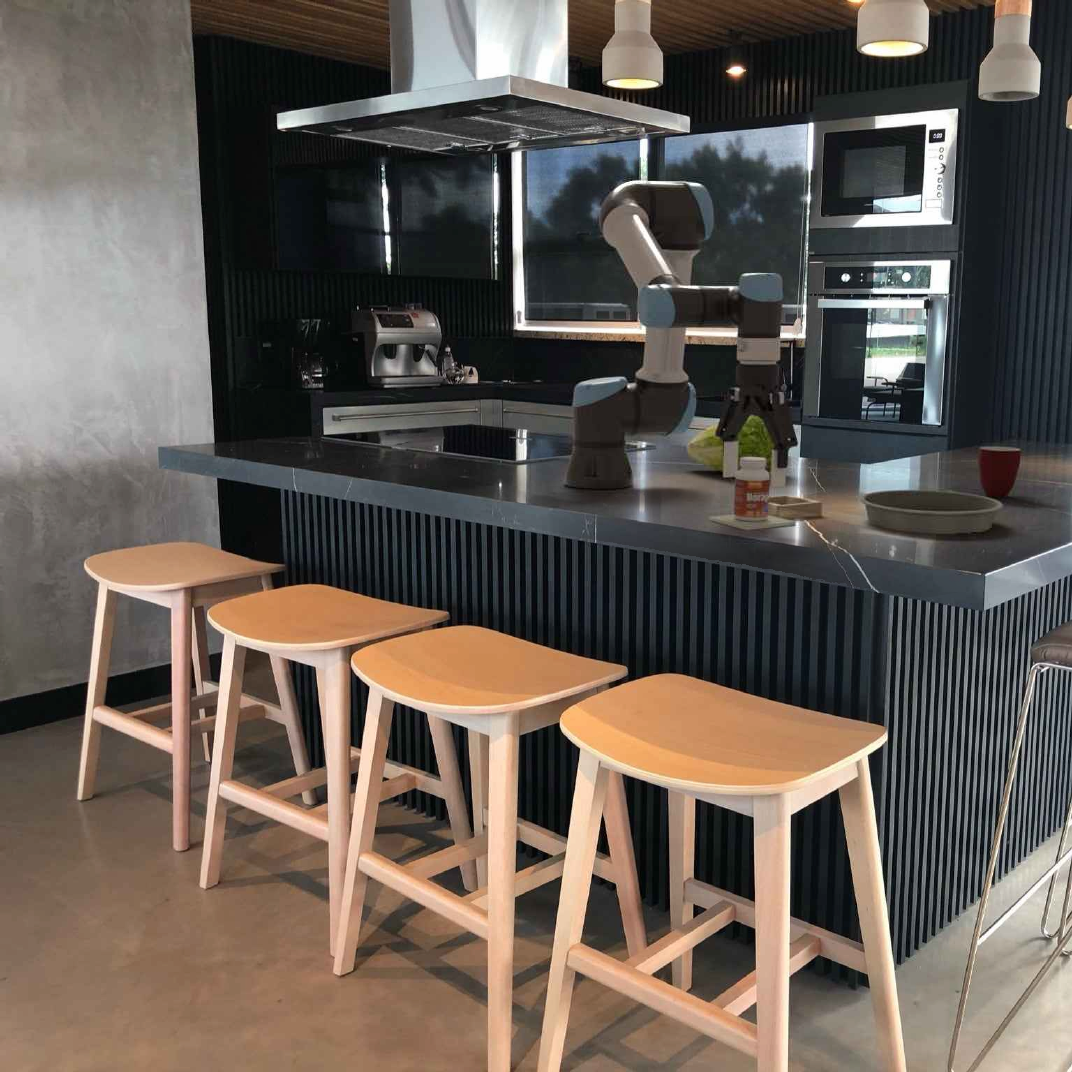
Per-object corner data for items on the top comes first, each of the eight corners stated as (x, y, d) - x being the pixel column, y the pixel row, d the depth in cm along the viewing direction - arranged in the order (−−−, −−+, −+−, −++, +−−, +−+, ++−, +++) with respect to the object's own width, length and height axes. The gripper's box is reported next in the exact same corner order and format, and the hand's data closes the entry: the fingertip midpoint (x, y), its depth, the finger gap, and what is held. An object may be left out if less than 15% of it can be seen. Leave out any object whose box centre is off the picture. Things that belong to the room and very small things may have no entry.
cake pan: (834, 515, 218) (835, 491, 217) (950, 510, 224) (951, 487, 223) (903, 539, 195) (905, 513, 194) (1030, 534, 200) (1033, 508, 199)
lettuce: (713, 468, 287) (704, 412, 284) (801, 465, 271) (792, 405, 268) (676, 486, 275) (666, 428, 272) (765, 484, 259) (756, 422, 256)
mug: (989, 491, 246) (992, 444, 245) (1027, 495, 241) (1031, 447, 239) (969, 496, 239) (972, 448, 237) (1008, 501, 233) (1012, 452, 232)
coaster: (708, 520, 211) (709, 517, 211) (756, 515, 216) (756, 512, 216) (746, 530, 202) (746, 526, 202) (795, 524, 207) (795, 521, 207)
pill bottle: (746, 523, 205) (748, 461, 203) (727, 517, 211) (728, 457, 208) (775, 520, 208) (777, 459, 205) (755, 514, 213) (757, 455, 211)
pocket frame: (745, 511, 221) (746, 498, 220) (786, 507, 225) (787, 494, 225) (779, 519, 212) (780, 506, 211) (821, 515, 217) (822, 502, 216)
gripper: (698, 360, 212) (695, 474, 217) (787, 365, 191) (782, 492, 195) (731, 359, 216) (727, 471, 220) (822, 365, 194) (816, 489, 198)
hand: (753, 481), depth 207 cm, fingers open, 13 cm apart
